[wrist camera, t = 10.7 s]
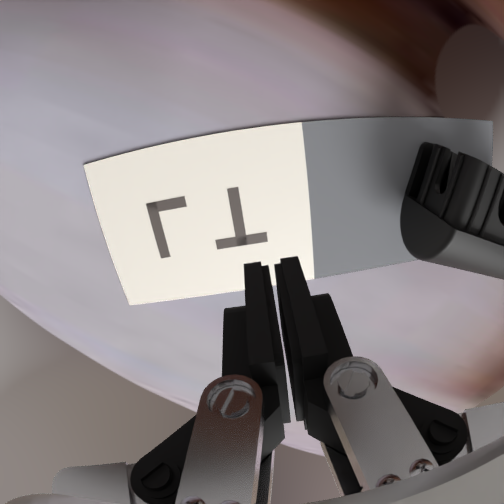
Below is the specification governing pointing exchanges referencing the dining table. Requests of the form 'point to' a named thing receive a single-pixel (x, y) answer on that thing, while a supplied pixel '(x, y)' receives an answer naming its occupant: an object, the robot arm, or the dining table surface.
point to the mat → (372, 183)
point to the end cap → (454, 211)
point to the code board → (204, 211)
